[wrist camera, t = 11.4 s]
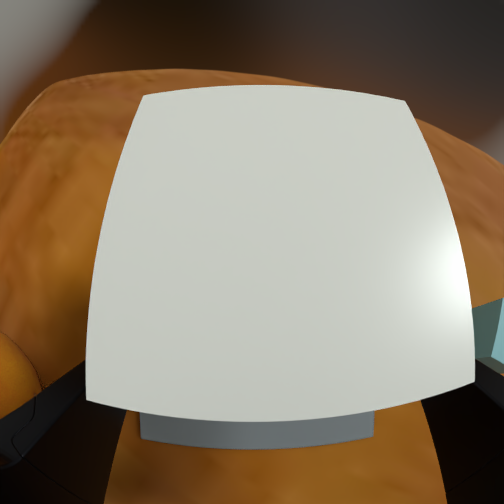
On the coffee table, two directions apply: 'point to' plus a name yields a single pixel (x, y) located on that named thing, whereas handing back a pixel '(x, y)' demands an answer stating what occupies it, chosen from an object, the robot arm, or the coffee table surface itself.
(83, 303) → the coffee table surface
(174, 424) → the mat
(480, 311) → the block
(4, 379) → the fruit
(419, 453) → the coffee table surface
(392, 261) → the tall white pillar
